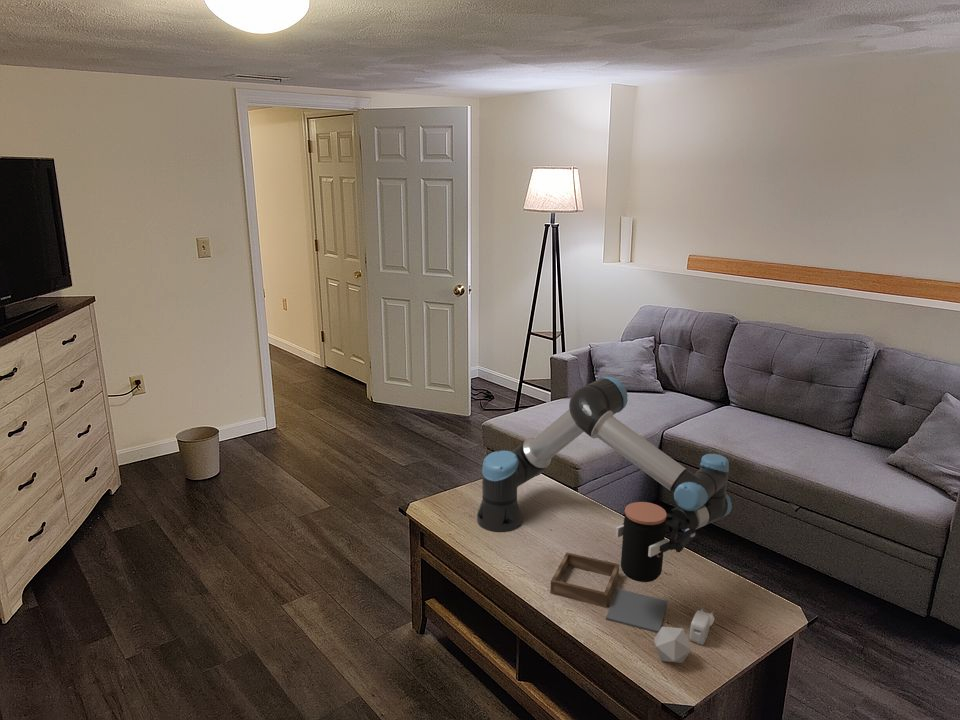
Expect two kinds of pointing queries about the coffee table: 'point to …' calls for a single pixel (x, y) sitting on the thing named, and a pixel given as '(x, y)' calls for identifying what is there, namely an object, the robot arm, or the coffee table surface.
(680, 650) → the die
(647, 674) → the coffee table surface
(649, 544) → the coffee jar
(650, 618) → the rubber mat
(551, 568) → the coffee table surface
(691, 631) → the power adapter
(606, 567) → the walnut crate
